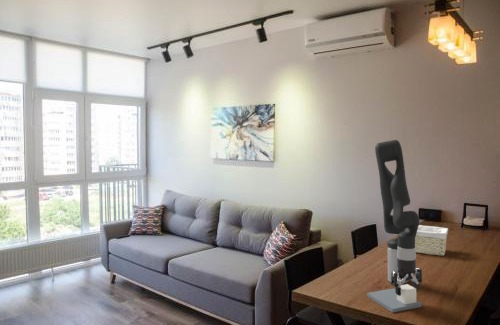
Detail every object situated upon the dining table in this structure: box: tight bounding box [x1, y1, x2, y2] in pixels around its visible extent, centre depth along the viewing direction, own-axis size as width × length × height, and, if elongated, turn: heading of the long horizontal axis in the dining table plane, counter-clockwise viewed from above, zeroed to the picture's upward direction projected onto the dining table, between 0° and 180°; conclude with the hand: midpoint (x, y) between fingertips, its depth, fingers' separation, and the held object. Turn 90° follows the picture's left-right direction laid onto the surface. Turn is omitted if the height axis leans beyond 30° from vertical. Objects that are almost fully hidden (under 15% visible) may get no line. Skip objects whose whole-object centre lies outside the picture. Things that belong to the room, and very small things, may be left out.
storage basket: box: [415, 224, 449, 256], centre depth 242 cm, size 24×16×15 cm
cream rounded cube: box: [397, 283, 417, 304], centre depth 168 cm, size 6×6×6 cm
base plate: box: [366, 287, 423, 313], centre depth 171 cm, size 15×18×2 cm
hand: (406, 293), depth 168 cm, fingers open, 8 cm apart
